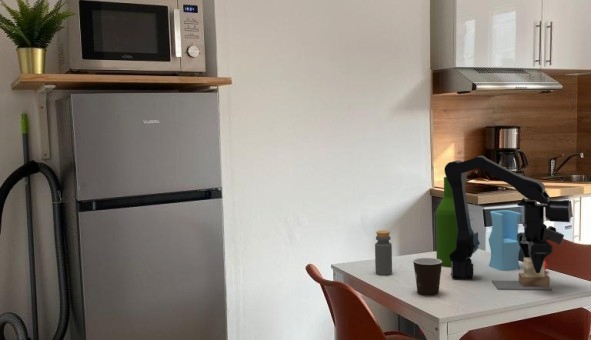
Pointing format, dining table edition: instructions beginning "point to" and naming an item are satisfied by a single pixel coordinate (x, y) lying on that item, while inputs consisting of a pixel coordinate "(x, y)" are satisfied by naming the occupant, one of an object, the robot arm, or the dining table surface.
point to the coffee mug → (427, 275)
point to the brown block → (534, 281)
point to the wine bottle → (446, 227)
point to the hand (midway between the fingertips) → (533, 269)
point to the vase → (504, 240)
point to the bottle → (383, 253)
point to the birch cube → (532, 269)
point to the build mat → (515, 286)
